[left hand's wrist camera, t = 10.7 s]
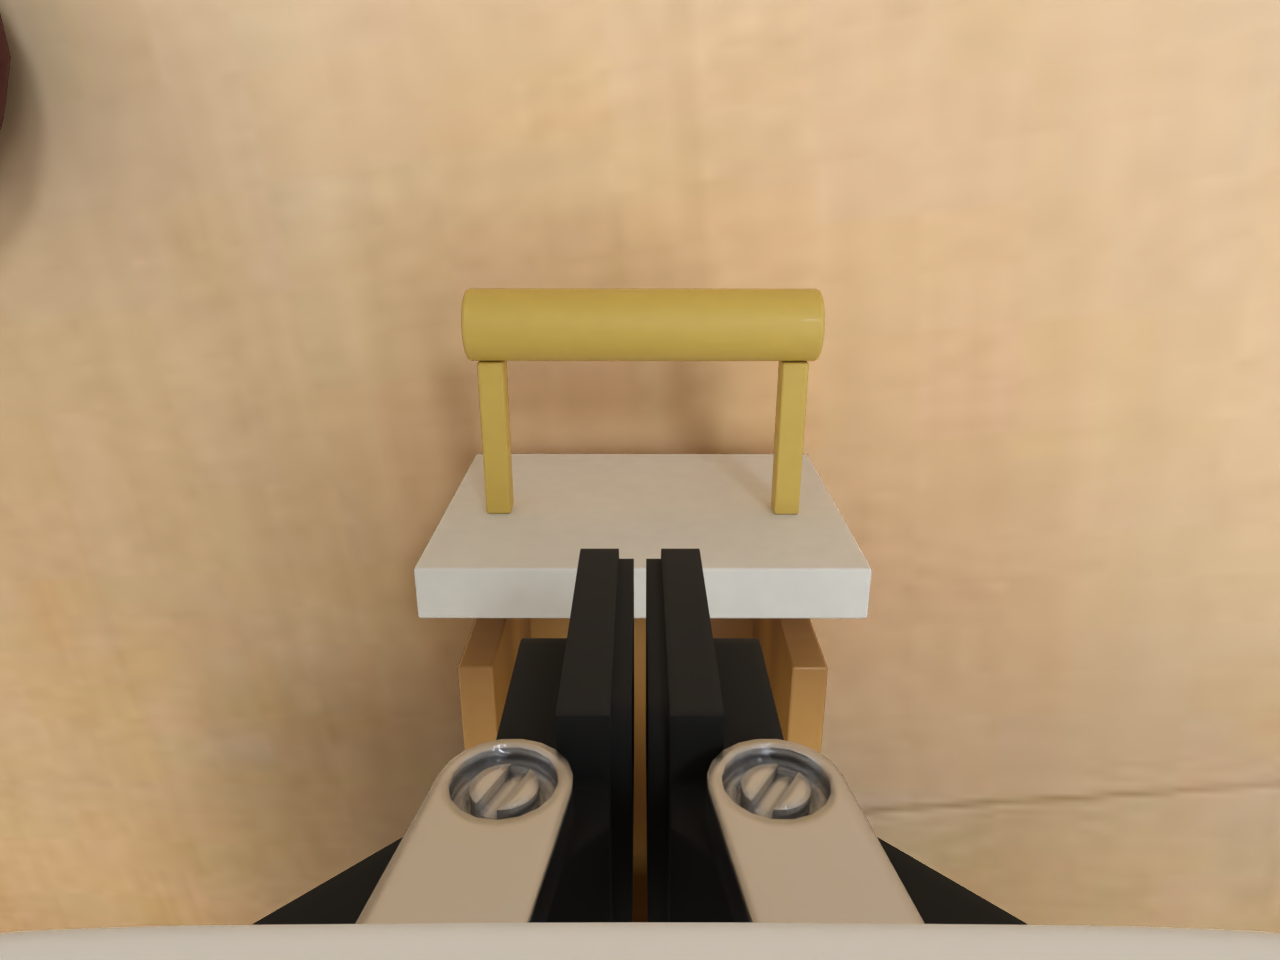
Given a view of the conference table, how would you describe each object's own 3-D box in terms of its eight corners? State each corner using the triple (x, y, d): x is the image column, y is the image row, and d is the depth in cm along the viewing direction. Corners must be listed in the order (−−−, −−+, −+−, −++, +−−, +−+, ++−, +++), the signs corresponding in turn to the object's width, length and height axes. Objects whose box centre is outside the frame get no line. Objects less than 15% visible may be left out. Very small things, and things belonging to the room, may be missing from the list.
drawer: (463, 265, 24) (387, 313, 17) (820, 265, 24) (898, 314, 17) (508, 934, 32) (470, 1159, 25) (774, 934, 32) (812, 1159, 25)
